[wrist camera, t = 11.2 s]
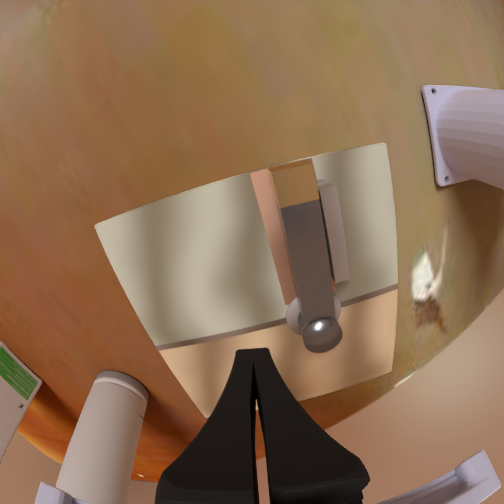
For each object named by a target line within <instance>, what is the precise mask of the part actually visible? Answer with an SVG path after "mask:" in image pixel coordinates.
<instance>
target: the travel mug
mask: <svg viewBox="0 0 504 504" xmlns="http://www.w3.org/2000/svg"><path fill="white" fill-rule="evenodd" d="M148 399H149V396H148V393H147V391H146V389H145V388H144V386H143V385H142V384H141V383H139V382H138V381H137V380H135V379H134V378H132V377H130V376H128V375H126V374H124V373H121V372H117V371H103V372H101V373H99V374H98V375H97V377H96V379H95V381H94V384H93V386H92V388H91V391H90V393H89V395H88V398H87V400H86V402H85V405H84V407H83V410H82V412H81V415H80V417H79V420H78V422H77V425H76V427H75V430H74V433H73V435H72V438H71V441H70V444H69V446H68V449H67V452H66V455H65V458H64V461H63V464H62V467H61V470H60V474H59V477H58V480H57V483H56V488H58V489H60V490H63V491H64V492H66V493H68V494H70V495H71V496H72V497H74V498H76V499H79V500H82V501H85V502H88V503H91V504H126V501H127V496H128V490H129V485H130V484H129V483H130V479H131V474H132V469H133V464H134V459H135V454H136V450H137V445H138V441H139V436H140V432H141V428H142V423H143V419H144V415H145V411H146V407H147V403H148Z"/></svg>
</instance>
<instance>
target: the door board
mask: <svg viewBox="0 0 504 504" xmlns="http://www.w3.org/2000/svg"><path fill="white" fill-rule="evenodd" d="M299 160H305V161H307V162H310V163H312V164H313V168H314V173H315V178H316V183H317V189H318V194H319V202H320V207H321V213H322V219H323V225H324V231H325V237H326V243H327V250H328V257H329V264H330V272H331V279H332V287H333V296H334V305H335V317H336V319H337V321H338V323H339V325H340V327H341V329H342V332H343V336H342V339H341V341H340V343H339V344H338V345H337V346H336V347H335V348H333V349H332V350H330V351H327V352H324V353H313V352H310V351H309V350H307V349H306V347H305V345H304V341H303V338H302V334H301V331H300V328H299V324H298V315H299V313H300V309H299V305H298V301H297V296H296V291H295V286H294V281H293V276H292V272H291V267H290V262H289V258H288V253H287V249H286V244H285V240H284V235H283V231H282V226H281V222H280V218H279V213H278V209H277V205H276V201H275V198H274V194H273V190H272V186H271V181H270V177H269V173H268V169H267V168H269V167H266V168H262V169H258V170H255V171H251V172H247V173H244V174H240V175H237V176H233V177H230V178H226V179H223V180H220V181H216V182H213V183H210V184H206V185H203V186H200V187H197V188H194V189H191V190H187V191H184V192H181V193H178V194H175V195H172V196H169V197H166V198H164V199H161V200H158V201H155V202H152V203H149V204H147V205H144V206H141V207H138V208H136V209H133V210H130V211H128V212H125V213H122V214H120V215H117V216H115V217H112V218H110V219H107V220H105V221H102V222H100V223H97V224H96V225H95V226H94V227H95V229H96V231H97V234H98V236H99V239H100V241H101V243H102V245H103V248H104V250H105V252H106V254H107V256H108V259H109V261H110V263H111V265H112V267H113V269H114V271H115V273H116V275H117V277H118V279H119V281H120V283H121V285H122V287H123V289H124V291H125V293H126V295H127V297H128V299H129V301H130V302H131V304H132V306H133V308H134V310H135V312H136V313H137V315H138V317H139V319H140V320H141V322H142V324H143V326H144V327H145V329H146V331H147V333H148V334H149V336H150V338H151V339H152V341H153V342H154V344H155V347H156V348H157V350H158V351H159V352H160V354H161V355H162V357H163V358H164V360H165V362H166V363H167V365H168V366H169V368H170V369H171V371H172V372H173V374H174V375H175V377H176V378H177V379H178V381H179V382H180V384H181V385H182V387H183V388H184V389H185V391H186V392H187V394H188V395H189V396H190V398H191V399H192V401H193V402H194V403H195V405H196V406H197V407H198V409H199V410H200V411H201V413H202V414H203V415H204V416H205V418H207V417H210V415H211V413H212V412H213V410H214V408H215V406H216V404H217V402H218V400H219V398H220V396H221V394H222V392H223V390H224V388H225V385H226V383H227V380H228V378H229V375H230V372H231V369H232V366H233V362H234V358H235V352H236V351H237V350H238V349H252V348H265V347H267V348H268V349H269V350H270V354H271V356H272V359H273V361H274V364H275V366H276V368H277V370H278V372H279V374H280V375H281V377H282V379H283V380H284V382H285V384H286V385H287V387H288V389H289V390H290V392H291V393H292V394H293V396H294V397H295V399H296V400H297V401H301V400H305V399H309V398H313V397H317V396H320V395H324V394H327V393H331V392H334V391H337V390H340V389H344V388H347V387H350V386H353V385H356V384H359V383H362V382H365V381H367V380H370V379H373V378H376V377H378V376H381V375H384V374H386V373H389V372H391V371H392V364H393V355H394V345H395V333H396V318H397V290H398V264H397V235H396V220H395V208H394V198H393V188H392V180H391V173H390V166H389V159H388V153H387V147H386V143H378V144H372V145H366V146H361V147H355V148H350V149H345V150H340V151H335V152H330V153H325V154H320V155H316V156H311V157H307V158H303V159H298V160H294V161H290V162H295V161H299ZM290 162H286V163H290ZM286 163H282V164H286ZM282 164H278V165H282ZM274 166H277V165H274ZM270 167H273V166H270ZM256 410H258V406H257V400H256Z"/></svg>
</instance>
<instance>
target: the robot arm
mask: <svg viewBox="0 0 504 504" xmlns="http://www.w3.org/2000/svg"><path fill="white" fill-rule="evenodd" d="M431 89H432V90H433V93H432V91H431ZM422 94H423V98H424V103H425V108H426V113H427V118H428V123H429V129H430V135H431V142H432V149H433V158H434V167H435V178H436V183H437V185H439V186H446V185H450V184H455V183H459V182H463V181H468V180H472V179H475V180H478V181H481V182H484V183H487V184H489V185H492V186H495V187H497V188H500V189H503V190H504V90H491V89H485V88H476V87H464V86H445V85H425V86H423V87H422ZM445 177H446V180H445ZM256 400H257V406H258V411H259V416H260V422H261V427H262V432H263V437H264V443H265V452H266V463H267V473H268V485H269V497H270V504H363V503H362V499H363V494H362V490H363V489H364V488H365V487H366V486H367V485H368V483H369V481H370V478H369V474H368V472H367V470H366V468H365V466H364V464H363V463H362V462H361V460H360V459H359V458H358V457H357V456H355V455H354V454H353V453H351V452H350V451H348V450H347V449H346V448H344V447H343V446H341V445H340V444H339V443H338V442H336V441H335V440H334V439H333V438H331V437H330V436H329V435H328V434H327V433H326V432H325V431H324V430H323V429H322V428H321V427H320V426H319V425H318V424H317V423H316V422H315V421H314V420H313V419H312V418H311V417H310V416H309V415H308V414H307V412H306V411H305V410H304V409H303V408H302V406H301V405H300V404H299V403H298V401H297V400H296V399H295V397H294V396H293V394H292V393H291V392H290V390H289V389H288V387H287V385H286V384H285V382H284V380H283V379H282V377H281V375H280V374H279V372H278V370H277V368H276V366H275V364H274V361H273V359H272V356H271V354H270V350H269V349H268V348H267V347H265V348H252V349H238V350H237V351H236V352H235V358H234V362H233V366H232V369H231V372H230V375H229V378H228V380H227V383H226V385H225V388H224V390H223V392H222V394H221V396H220V398H219V400H218V402H217V404H216V406H215V408H214V410H213V412H212V413H211V415H210V417H209V418H208V420H207V422H206V423H205V424H204V426H203V427H202V429H201V430H200V432H199V433H198V434H197V436H196V437H195V438H194V440H193V441H192V442H191V443H190V444H189V446H188V447H187V448H186V449H185V450H184V451H183V453H182V454H181V455H180V456H179V457H178V458H177V459H176V460H175V461H174V462H173V463H172V464H171V465H169V466H168V467H167V468H166V469H165V470H164V471H163V473H162V475H161V477H160V479H159V482H158V485H157V489H156V496H155V504H259V493H258V481H257V468H256V454H255V423H256ZM500 487H501V484H500V482H499V479H498V477H497V475H496V473H495V471H494V469H493V467H492V465H491V463H490V460H489V458H488V456H487V454H486V453H485V451H484V450H480V451H479V452H477V453H476V454H474V455H473V456H471V457H470V458H468V459H466V460H465V461H463V462H462V463H461V464H459V465H458V466H457V467H456V468H455V469H454V470H452V471H450V472H449V473H447V474H445V475H443V476H441V477H439V478H437V479H435V480H433V481H431V482H429V483H427V484H425V485H422V486H420V487H418V488H416V489H414V490H411V491H409V492H406V493H404V494H401V495H399V496H396V497H394V498H391V499H388V500H385V501H382V502H380V503H377V504H479V503H480V502H482V501H483V500H485V499H486V498H487V497H489V496H490V495H491V494H493V493H494V492H495V491H496V490H498V489H499V488H500ZM35 504H91V503H88V502H85V501H82V500H79V499H76V498H74V497H72V496H71V495H70V494H68V493H66V492H64V491H63V490H60V489H58V488H56V487H54V486H51V485H49V484H47V483H45V482H41V484H40V487H39V490H38V493H37V497H36V500H35Z"/></svg>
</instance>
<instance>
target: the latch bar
mask: <svg viewBox="0 0 504 504" xmlns="http://www.w3.org/2000/svg"><path fill="white" fill-rule="evenodd" d="M267 169H268V173H269V177H270V181H271V186H272V190H273V194H274V198H275V201H276V205H277V209H278V213H279V218H280V222H281V226H282V231H283V235H284V240H285V244H286V249H287V253H288V258H289V262H290V267H291V272H292V276H293V281H294V286H295V291H296V296H297V301H298V305H299V309H300V313H299V315H298V324H299V328H300V331H301V334H302V338H303V341H304V345H305V347H306V349H307V350H309V351H310V352H313V353H324V352H327V351H330V350H332V349H333V348H335V347H336V346H337V345H338V344H339V343H340V341H341V339H342V336H343V332H342V329H341V327H340V325H339V323H338V321H337V319H336V317H335V305H334V296H333V287H332V279H331V272H330V264H329V257H328V250H327V243H326V237H325V231H324V225H323V219H322V213H321V207H320V202H319V194H318V189H317V183H316V178H315V173H314V168H313V164H312V163H310V162H307V161H305V160H299V161H295V162H290V163H286V164H282V165H277V166H273V167H269V168H267Z"/></svg>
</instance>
